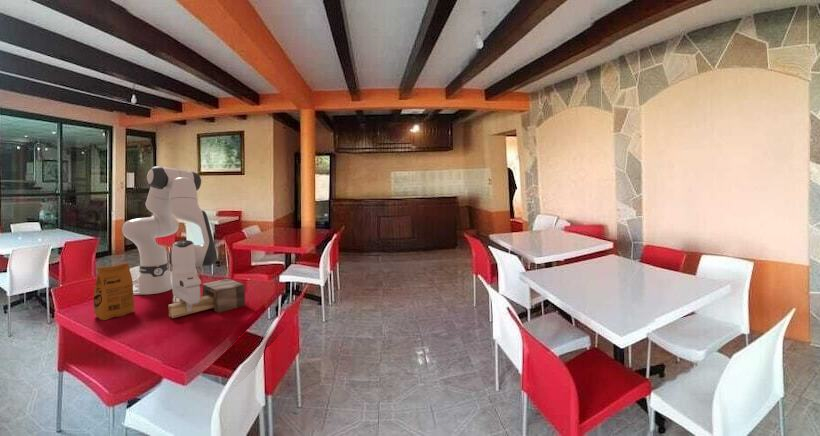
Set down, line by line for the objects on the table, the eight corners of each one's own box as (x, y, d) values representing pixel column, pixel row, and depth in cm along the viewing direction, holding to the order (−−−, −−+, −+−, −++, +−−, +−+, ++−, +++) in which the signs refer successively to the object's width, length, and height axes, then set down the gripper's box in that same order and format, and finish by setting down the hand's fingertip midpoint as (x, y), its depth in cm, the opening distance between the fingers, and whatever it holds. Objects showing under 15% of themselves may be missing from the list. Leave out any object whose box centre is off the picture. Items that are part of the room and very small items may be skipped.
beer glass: (180, 304, 161) (178, 273, 159) (167, 302, 162) (166, 272, 161) (192, 299, 168) (190, 269, 166) (180, 298, 169) (178, 268, 167)
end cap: (202, 304, 161) (202, 283, 160) (228, 297, 171) (228, 278, 170) (218, 312, 152) (217, 290, 151) (245, 305, 161) (244, 284, 160)
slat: (168, 316, 145) (168, 304, 144) (213, 304, 159) (213, 294, 159) (172, 318, 143) (172, 306, 142) (217, 306, 157) (217, 296, 157)
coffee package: (92, 316, 144) (88, 266, 142) (128, 307, 155) (125, 260, 153) (100, 322, 139) (96, 269, 137) (137, 312, 150) (134, 263, 147)
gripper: (167, 275, 151) (169, 305, 152) (185, 284, 138) (187, 317, 140) (183, 272, 156) (185, 301, 157) (202, 281, 143) (204, 312, 145)
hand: (186, 309), depth 148 cm, fingers closed on slat, 4 cm apart
